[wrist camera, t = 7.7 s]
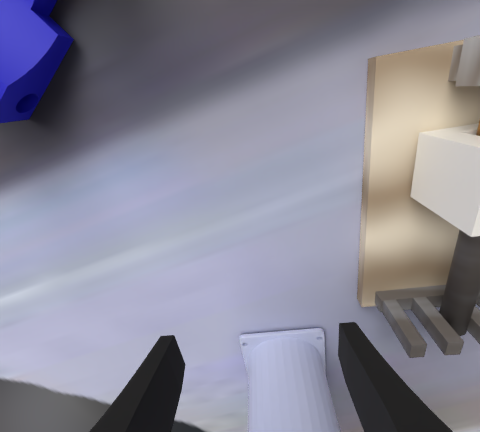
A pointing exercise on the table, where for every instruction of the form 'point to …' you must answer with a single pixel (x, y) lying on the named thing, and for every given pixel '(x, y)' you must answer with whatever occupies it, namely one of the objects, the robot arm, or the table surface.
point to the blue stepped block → (27, 55)
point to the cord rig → (408, 209)
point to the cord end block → (450, 175)
